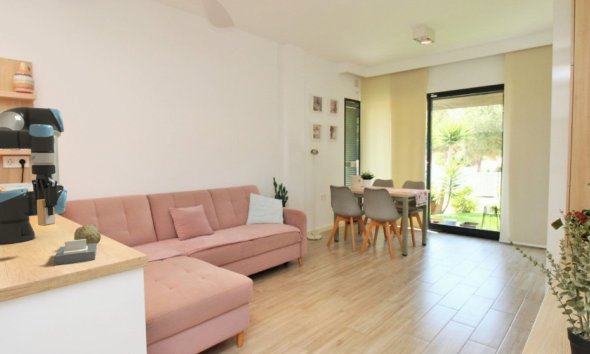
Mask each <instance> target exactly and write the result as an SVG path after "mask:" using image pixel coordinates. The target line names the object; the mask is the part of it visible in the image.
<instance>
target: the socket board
mask: <svg viewBox="0 0 590 354" xmlns="http://www.w3.org/2000/svg"><path fill="white" fill-rule="evenodd" d="M86 246H88V249H87V252H84V253H76V254H67V255H63V252H64V250H65V245H64V246H59V248H58V250H57V252H56V254H55V256H54V265H55V266H58V265H64V264H65V265H66V264H73V263H78V262H79V263H82V262H89V261H94V260H96V256H97V251H96V250H97V244H96V243H91V244H86Z"/></svg>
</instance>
